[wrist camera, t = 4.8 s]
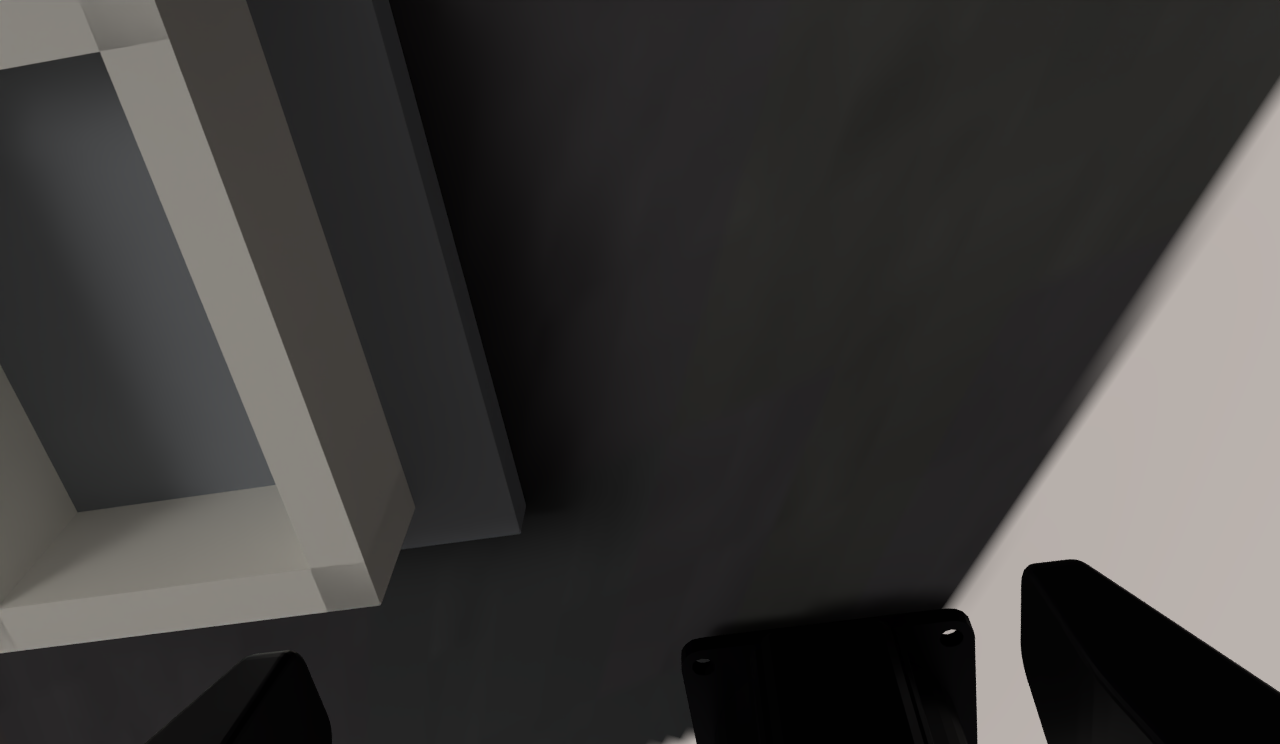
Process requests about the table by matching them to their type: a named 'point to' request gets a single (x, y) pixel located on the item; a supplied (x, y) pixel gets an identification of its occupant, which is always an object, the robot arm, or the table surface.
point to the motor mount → (226, 321)
